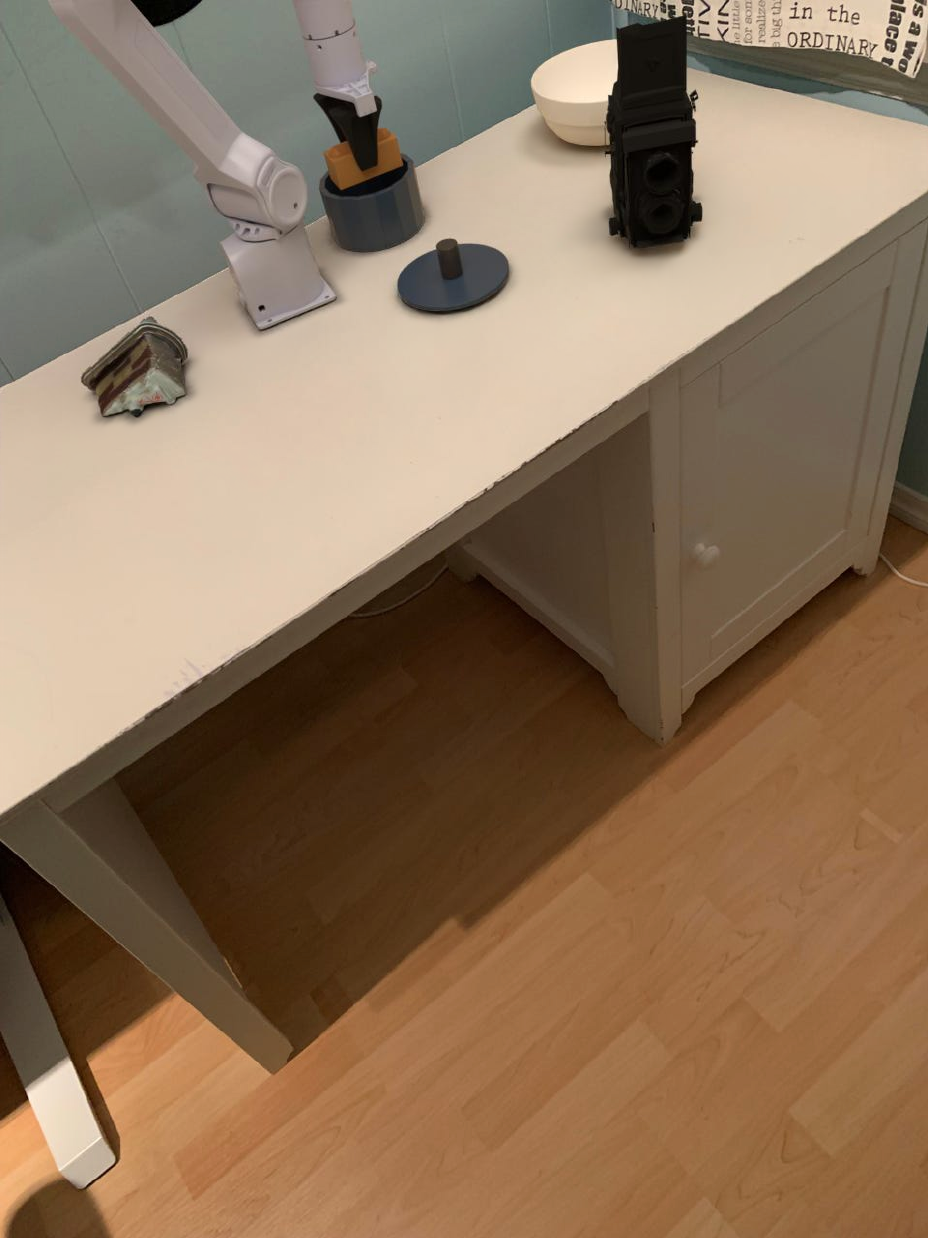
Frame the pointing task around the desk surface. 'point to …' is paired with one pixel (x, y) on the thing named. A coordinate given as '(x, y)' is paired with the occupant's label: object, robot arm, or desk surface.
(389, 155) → the orange open box
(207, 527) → the desk surface
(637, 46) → the camera
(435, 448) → the desk surface
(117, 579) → the desk surface
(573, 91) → the bowl
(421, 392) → the desk surface
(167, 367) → the chocolate cake
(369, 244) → the pot
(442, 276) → the lid
